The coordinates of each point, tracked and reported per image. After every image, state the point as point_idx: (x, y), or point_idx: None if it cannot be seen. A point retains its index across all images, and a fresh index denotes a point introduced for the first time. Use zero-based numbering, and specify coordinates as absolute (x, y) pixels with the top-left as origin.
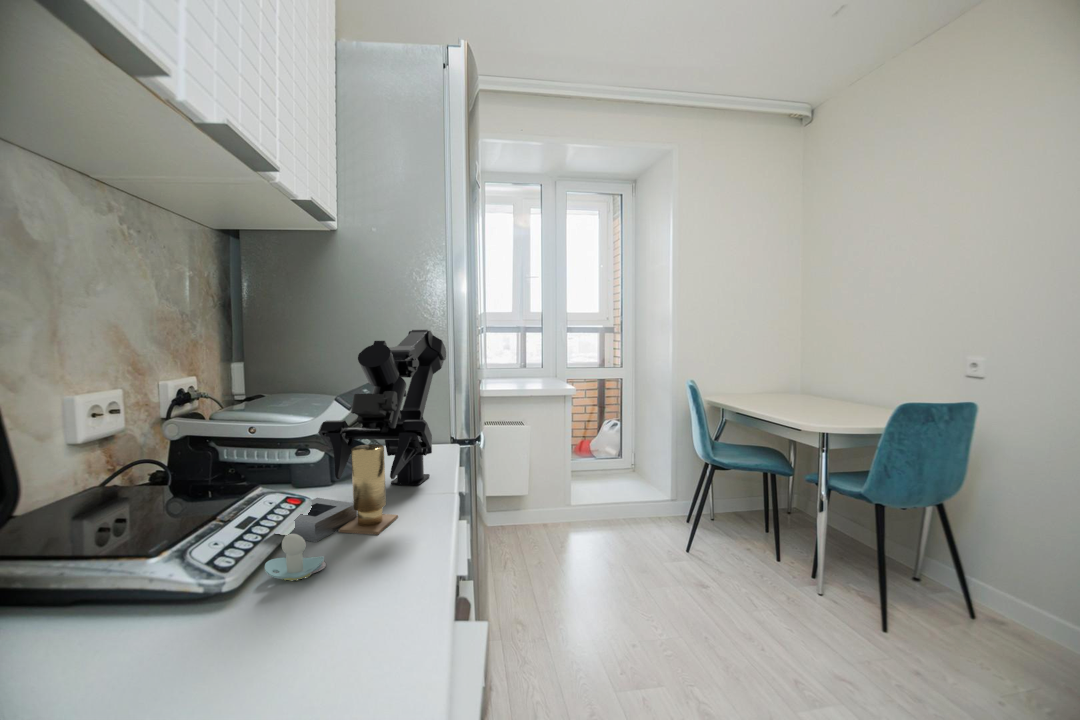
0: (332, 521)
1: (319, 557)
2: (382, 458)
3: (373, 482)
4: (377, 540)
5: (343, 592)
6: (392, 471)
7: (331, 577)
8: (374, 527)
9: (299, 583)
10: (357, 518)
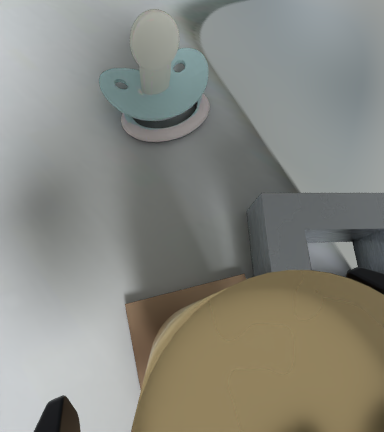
0: (263, 260)
1: (134, 115)
2: None
3: (158, 337)
4: (104, 274)
5: (25, 83)
6: (44, 425)
7: (86, 112)
8: (157, 324)
9: None
10: None
